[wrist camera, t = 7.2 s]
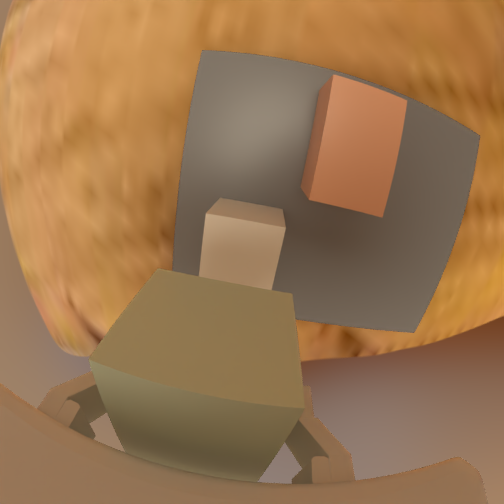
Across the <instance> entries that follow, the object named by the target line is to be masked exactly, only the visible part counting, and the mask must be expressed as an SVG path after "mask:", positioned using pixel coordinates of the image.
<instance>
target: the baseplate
mask: <svg viewBox="0 0 504 504" xmlns="http://www.w3.org/2000/svg"><path fill="white" fill-rule="evenodd" d="M333 74H334V75H338V76H341V77H345V78H348V79H351V80H354V81H358V82H361V83H364V84H367V85H369V86H372V87H375V88H378V89H380V90H383V91H386V92H388V93H391V94H393V95H396V96H398V97H401V98H403V99H405V100H407V106H406V113H405V120H404V126H403V131H402V137H401V142H400V147H399V152H398V157H397V162H396V166H395V171H394V175H393V179H392V184H391V188H390V191H389V195H388V199H387V203H386V207H385V210H384V214H383V217H378V216H374V215H370V214H366V213H363V212H359V211H355V210H351V209H346V208H342V207H338V206H334V205H330V204H325V203H321V202H316V201H312V200H309V199H308V198H307V196H306V195H305V193H304V192H303V190H302V189H301V182H302V177H303V173H304V168H305V163H306V158H307V153H308V148H309V143H310V138H311V133H312V128H313V122H314V117H315V112H316V106H317V101H318V95H319V90H320V89H321V87H322V86H323V85H324V84H325V83H326V82H327V81H328V80H329V79H330V78H331V77H332V76H333ZM479 140H480V135H478V134H477V133H475V132H473V131H472V130H470V129H469V128H467V127H465V126H464V125H462V124H460V123H459V122H457V121H455V120H453V119H452V118H450V117H448V116H446V115H444V114H442V113H441V112H439V111H437V110H435V109H433V108H431V107H429V106H427V105H425V104H423V103H420V102H418V101H416V100H414V99H412V98H410V97H407V96H405V95H403V94H400V93H398V92H396V91H393V90H391V89H388V88H386V87H383V86H380V85H378V84H375V83H372V82H369V81H366V80H363V79H360V78H357V77H354V76H351V75H348V74H345V73H341V72H338V71H334V70H331V69H327V68H323V67H319V66H315V65H311V64H306V63H302V62H297V61H292V60H287V59H281V58H276V57H269V56H263V55H255V54H247V53H237V52H225V51H208V50H202V53H201V58H200V62H199V67H198V71H197V76H196V81H195V86H194V91H193V96H192V101H191V107H190V112H189V118H188V124H187V130H186V137H185V144H184V151H183V158H182V166H181V174H180V182H179V191H178V201H177V211H176V223H175V236H174V251H173V269H172V271H175V272H180V273H184V274H189V275H194V276H199V277H204V278H209V279H214V280H219V281H225V282H230V283H235V284H241V285H246V286H251V287H257V288H262V289H268V290H274V291H280V292H285V293H291V294H292V295H293V303H294V311H295V319H297V320H304V321H311V322H318V323H325V324H333V325H340V326H349V327H357V328H366V329H376V330H386V331H397V332H410V333H414V332H415V330H416V329H417V327H418V325H419V323H420V321H421V319H422V317H423V315H424V313H425V311H426V309H427V307H428V305H429V303H430V301H431V299H432V297H433V295H434V292H435V290H436V288H437V286H438V284H439V281H440V279H441V277H442V274H443V272H444V269H445V267H446V264H447V262H448V259H449V256H450V254H451V251H452V248H453V246H454V243H455V240H456V237H457V234H458V231H459V228H460V225H461V221H462V218H463V215H464V211H465V208H466V204H467V200H468V196H469V192H470V188H471V184H472V179H473V175H474V170H475V165H476V159H477V153H478V147H479Z"/></svg>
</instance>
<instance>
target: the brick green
mask: <svg viewBox="0 0 504 504" xmlns="http://www.w3.org/2000/svg"><path fill="white" fill-rule="evenodd" d="M88 360H89V363H90V367H91V370H92V373H93V376H94V379H95V382H96V385H97V387H98V390H99V393H100V396H101V398H102V401H103V403H104V406H105V408H106V411H107V413H108V416H109V418H110V420H111V423H112V425H113V427H114V429H115V432H116V434H117V436H118V438H119V440H120V442H121V444H122V446H123V448H124V450H125V452H126V453H128V454H130V455H133V456H136V457H139V458H142V459H145V460H148V461H151V462H155V463H158V464H161V465H165V466H169V467H172V468H176V469H180V470H184V471H189V472H193V473H198V474H203V475H208V476H214V477H220V478H226V479H233V480H241V481H250V482H257V481H258V480H259V479H260V477H261V476H262V475H263V473H264V472H265V470H266V469H267V467H268V466H269V465H270V463H271V462H272V460H273V459H274V457H275V455H276V454H277V453H278V451H279V450H280V448H281V447H282V445H283V444H284V442H285V441H286V439H287V437H288V436H289V434H290V433H291V431H292V429H293V428H294V426H295V424H296V423H297V421H298V419H299V418H300V416H301V414H302V413H303V411H304V409H305V403H304V392H303V382H302V372H301V363H300V353H299V344H298V336H297V327H296V319H295V311H294V303H293V295H292V294H291V293H285V292H280V291H274V290H268V289H262V288H257V287H251V286H246V285H241V284H235V283H230V282H225V281H219V280H214V279H209V278H204V277H199V276H194V275H189V274H184V273H180V272H175V271H170V270H165V269H161V268H158V269H157V270H156V271H155V272H154V273H153V275H152V276H151V277H150V278H149V280H148V281H147V282H146V283H145V285H144V286H143V287H142V288H141V289H140V291H139V292H138V293H137V295H136V296H135V297H134V298H133V300H132V301H131V302H130V303H129V305H128V306H127V307H126V309H125V310H124V311H123V312H122V314H121V315H120V316H119V318H118V319H117V320H116V322H115V323H114V324H113V326H112V327H111V328H110V330H109V331H108V332H107V334H106V335H105V336H104V338H103V339H102V341H101V342H100V343H99V345H98V346H97V347H96V349H95V350H94V352H93V353H92V354H91V356H90V357H89V359H88Z"/></svg>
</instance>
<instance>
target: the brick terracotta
mask: <svg viewBox="0 0 504 504" xmlns="http://www.w3.org/2000/svg"><path fill="white" fill-rule="evenodd" d="M406 106H407V100H405V99H403V98H401V97H398V96H396V95H393V94H391V93H388V92H386V91H383V90H380V89H378V88H375V87H372V86H369V85H367V84H364V83H361V82H358V81H354V80H351V79H348V78H345V77H341V76H338V75H334V74H333V76H332V77H331V78H330V79H329V80H328V81H327V82H326V83H325V84H324V85H323V86H322V87H321V89H320V90H319V95H318V101H317V106H316V112H315V117H314V122H313V128H312V133H311V138H310V143H309V148H308V153H307V158H306V163H305V168H304V173H303V177H302V182H301V189H302V190H303V192H304V193H305V195H306V196H307V198H308V199H309V200H312V201H316V202H321V203H325V204H330V205H334V206H338V207H342V208H346V209H351V210H355V211H359V212H363V213H366V214H370V215H374V216H378V217H383V214H384V210H385V207H386V203H387V199H388V195H389V191H390V188H391V184H392V179H393V175H394V171H395V166H396V162H397V157H398V152H399V147H400V142H401V137H402V131H403V126H404V120H405V113H406Z"/></svg>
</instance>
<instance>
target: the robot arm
mask: <svg viewBox="0 0 504 504" xmlns="http://www.w3.org/2000/svg"><path fill="white" fill-rule="evenodd" d="M303 392H304V403H305V409H304V411H303V413H302V414H301V416H300V418H299V419H298V421H297V423H296V424H295V426H294V428H293V429H292V431H291V433H290V434H289V436H288V437H287V439H286V441H285V443H286V444H287V446H288V447H289V449H290V450H291V452H292V454H293V455H294V457H295V458H296V460H297V461H298V463H299V464H300V466H301V467H302V470H301V471H300V472H299V473H298V474H297V475H296V476H295V477H294V478H293V479H292V484H279V483H262V482H250V481H241V480H233V479H226V478H220V477H214V476H208V475H203V474H198V473H193V472H189V471H184V470H180V469H176V468H172V467H169V466H165V465H161V464H158V463H155V462H151V461H148V460H145V459H142V458H139V457H136V456H133V455H130V454H128V453H125V452H122V451H120V450H117V449H115V448H112V447H110V446H107V445H105V444H102V443H100V442H98V441H96V440H94V438H95V433H94V432H93V430H92V428H91V426H90V424H89V423H91V422H93V421H94V420H96V419H97V418H99V417H100V416H102V415H103V414H105V413H106V412H107V411H106V408H105V406H104V403H103V401H102V398H101V396H100V393H99V390H98V387H97V385H96V382H95V379H94V376H93V373H92V371H91V372H88V373H86V374H84V375H81V376H79V377H77V378H74V379H72V380H70V381H67V382H65V383H63V384H60V385H58V386H56V387H53V388H51V389H50V391H49V392H48V393H47V395H46V397H45V398H44V399H43V401H42V402H41V404H40V405H39V407H38V408H37V409H36V408H35V407H33V406H32V405H30V404H29V403H27V402H26V401H24V400H23V399H21V398H20V397H18V396H17V395H16V394H14V393H13V392H12V391H10V390H9V389H8V388H6V387H5V386H4V385H2V384H1V383H0V504H488V501H487V496H486V492H485V488H484V484H483V481H482V478H481V475H480V473H479V471H478V470H477V469H476V468H474V467H473V466H472V465H471V464H469V463H468V462H467V461H465V460H464V459H462V458H461V457H455V458H451V459H448V460H445V461H442V462H439V463H436V464H433V465H429V466H426V467H422V468H419V469H415V470H411V471H406V472H402V473H398V474H393V475H388V476H382V477H376V478H371V479H363V480H357V481H356V480H355V476H354V471H353V463H352V457H351V454H350V453H349V452H348V451H347V450H346V449H345V448H344V446H342V444H341V443H340V442H339V441H338V440H337V439H336V438H335V437H334V436H333V435H332V433H330V431H329V430H328V429H327V428H326V427H325V426H324V425H323V423H322V422H321V421H320V420H319V419H318V418H314V413H313V405H312V396H311V389H310V387H309V386H303Z"/></svg>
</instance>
